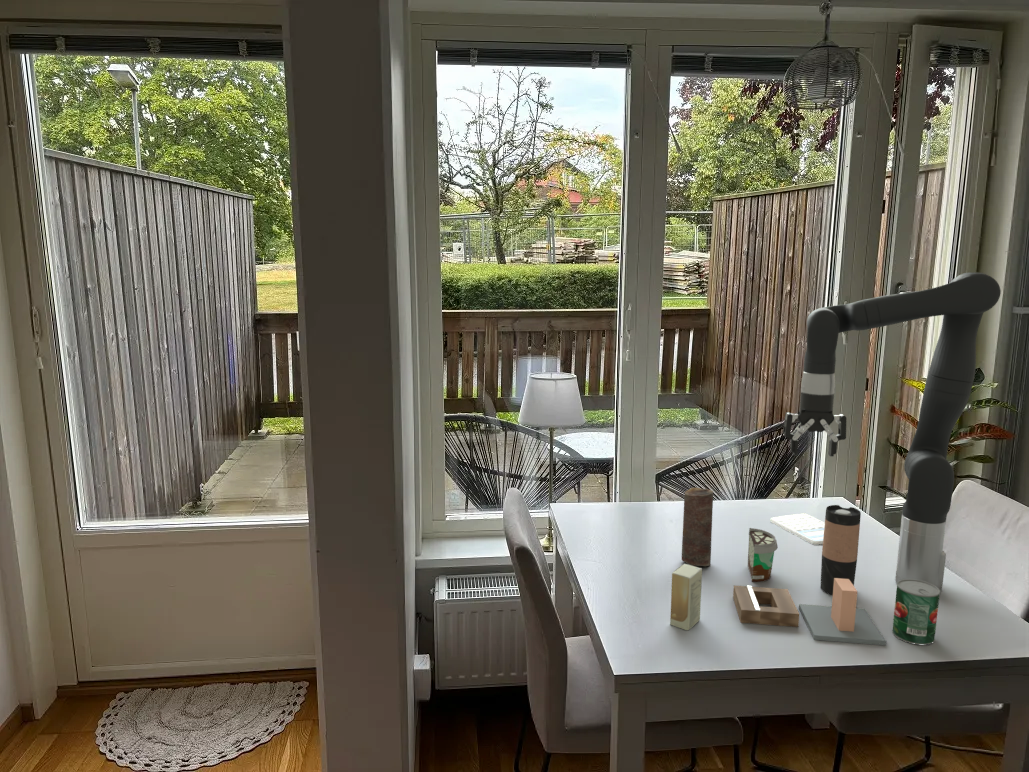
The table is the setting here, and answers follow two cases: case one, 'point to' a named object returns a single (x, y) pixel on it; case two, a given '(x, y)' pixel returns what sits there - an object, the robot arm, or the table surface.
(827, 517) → the travel mug
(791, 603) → the brown flat square frame
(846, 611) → the tall peach block
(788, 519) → the calculator
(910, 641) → the canned tomato
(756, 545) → the food container
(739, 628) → the table surface
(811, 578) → the table surface
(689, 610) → the skincare box
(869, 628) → the mat
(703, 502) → the candle
